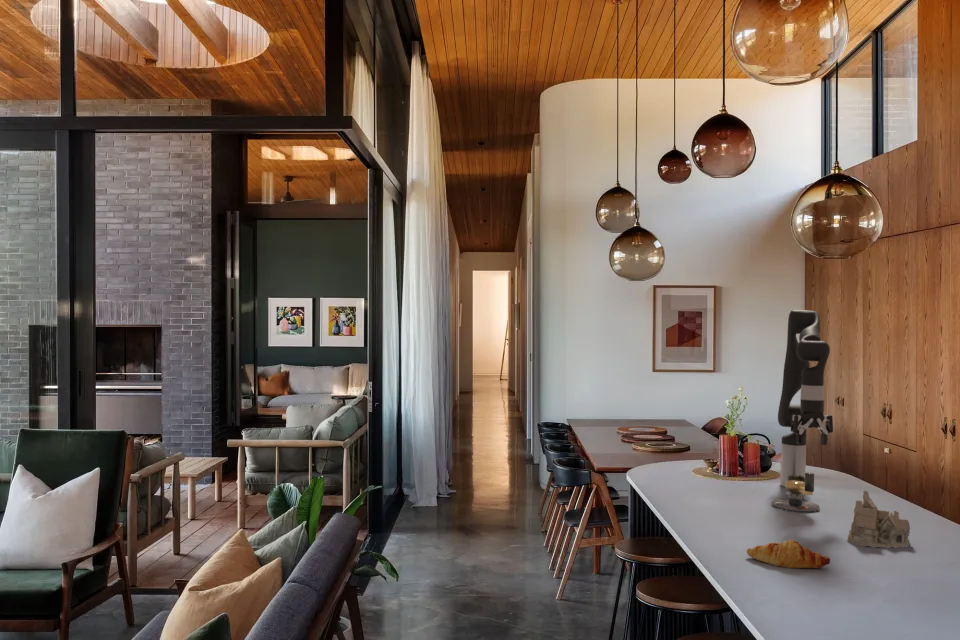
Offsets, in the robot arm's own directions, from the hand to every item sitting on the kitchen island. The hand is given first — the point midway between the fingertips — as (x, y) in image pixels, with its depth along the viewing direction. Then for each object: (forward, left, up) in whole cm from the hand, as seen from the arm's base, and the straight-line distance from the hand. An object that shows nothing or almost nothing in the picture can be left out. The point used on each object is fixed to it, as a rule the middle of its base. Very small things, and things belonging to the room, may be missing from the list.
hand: (811, 445), depth 263 cm
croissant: (+52, -37, -24) cm, 68 cm away
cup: (-24, +9, -24) cm, 35 cm away
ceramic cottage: (+34, +2, -24) cm, 42 cm away
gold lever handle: (-6, 0, -17) cm, 18 cm away
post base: (-10, 0, -24) cm, 26 cm away
